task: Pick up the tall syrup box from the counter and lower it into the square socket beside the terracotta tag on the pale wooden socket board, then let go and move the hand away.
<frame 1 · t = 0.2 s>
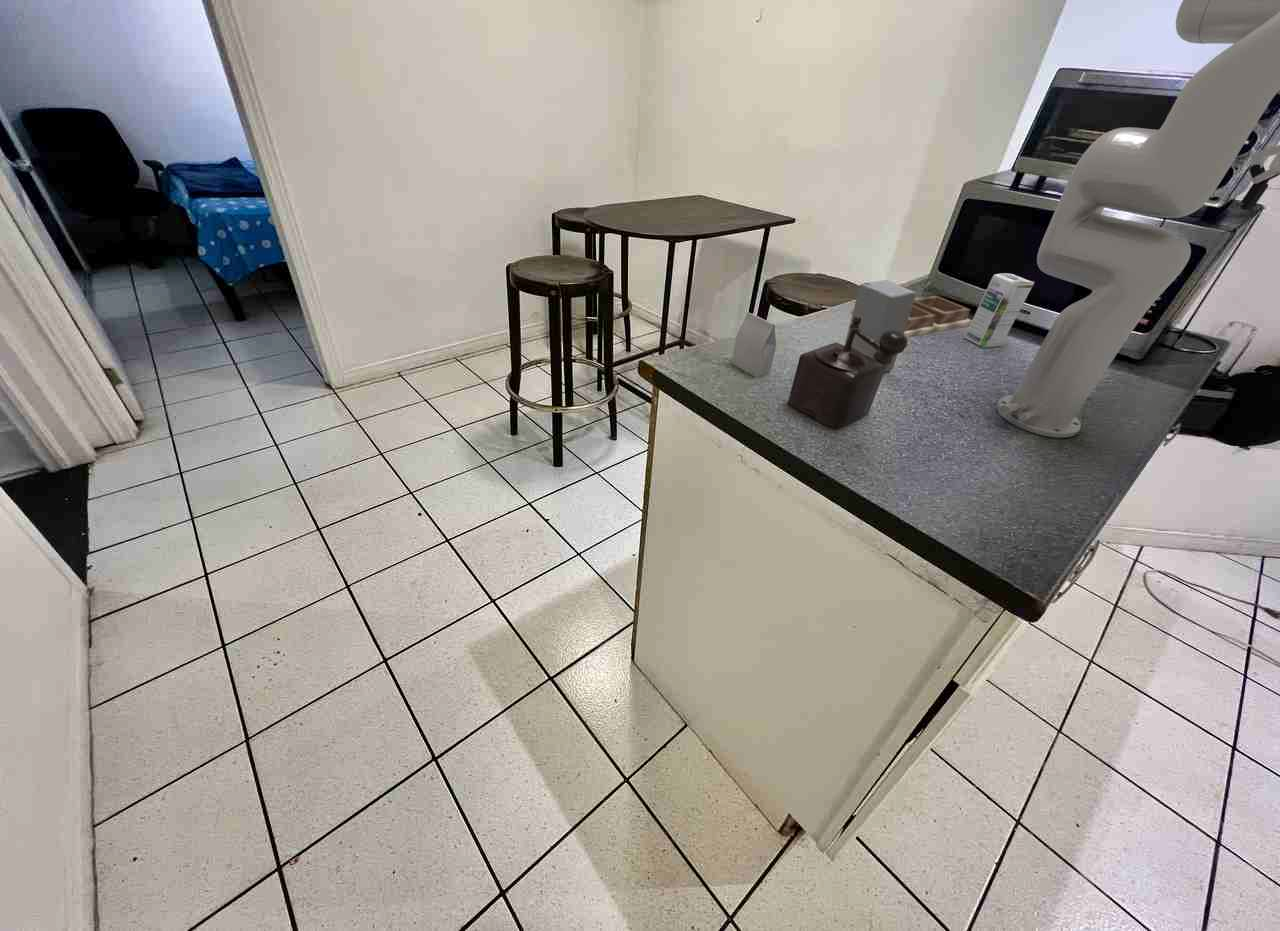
manual coffee grinder: (838, 416, 89), on the worktop
white paper bag: (750, 369, 101), on the worktop
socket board: (910, 318, 128), on the worktop
skincare box: (863, 365, 105), on the worktop
syrup box: (982, 342, 119), on the worktop
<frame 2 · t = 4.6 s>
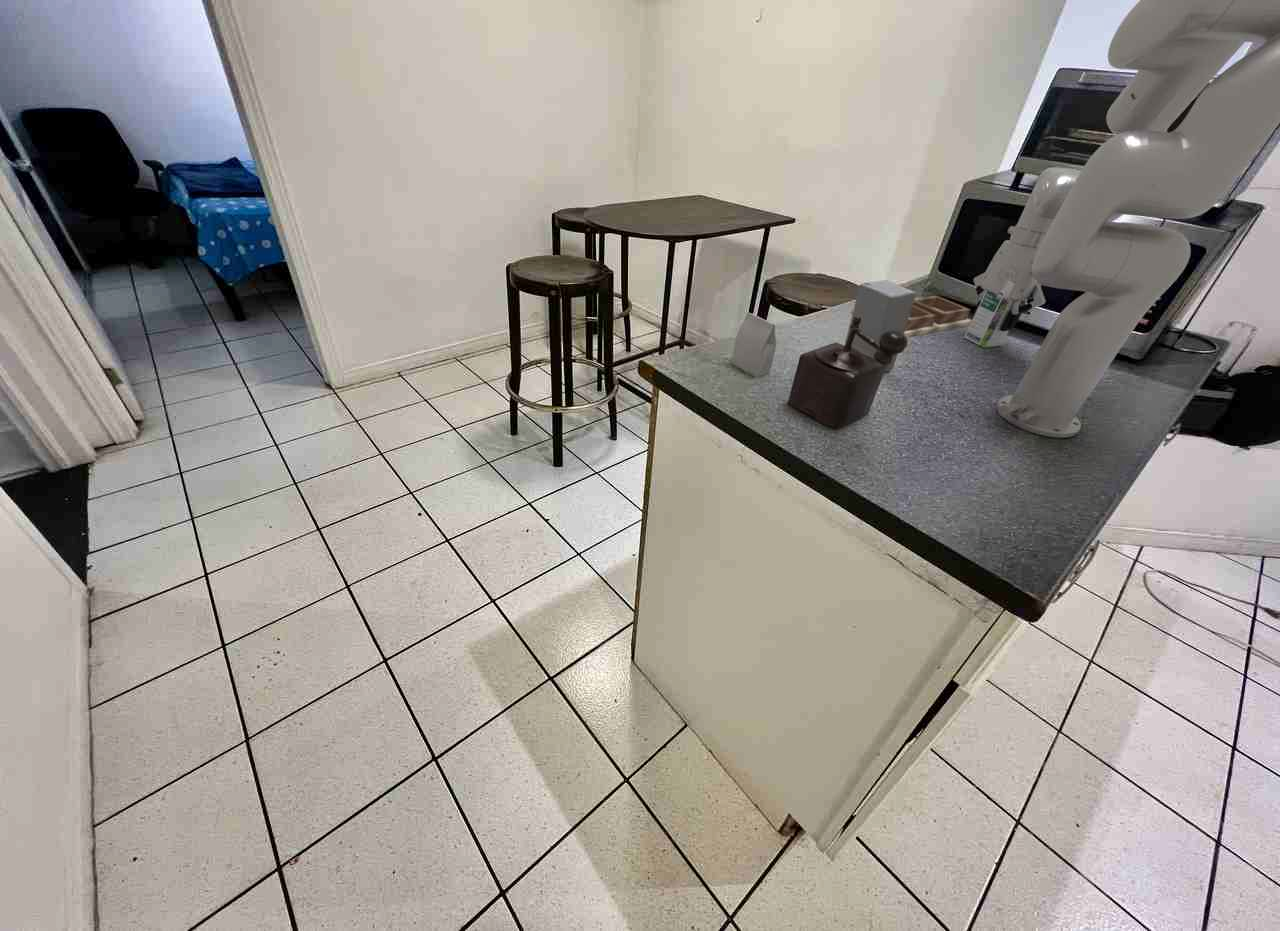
hand: (991, 323, 116), 4 cm above the worktop, tool pointing down, fingers closed on syrup box, 6 cm apart
syrup box: (981, 342, 119), on the worktop, touching gripper
everything else where it was.
when the fingers open (7 cm above the worktop, at t = 12.0 s): syrup box drops 1 cm, resting on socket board.
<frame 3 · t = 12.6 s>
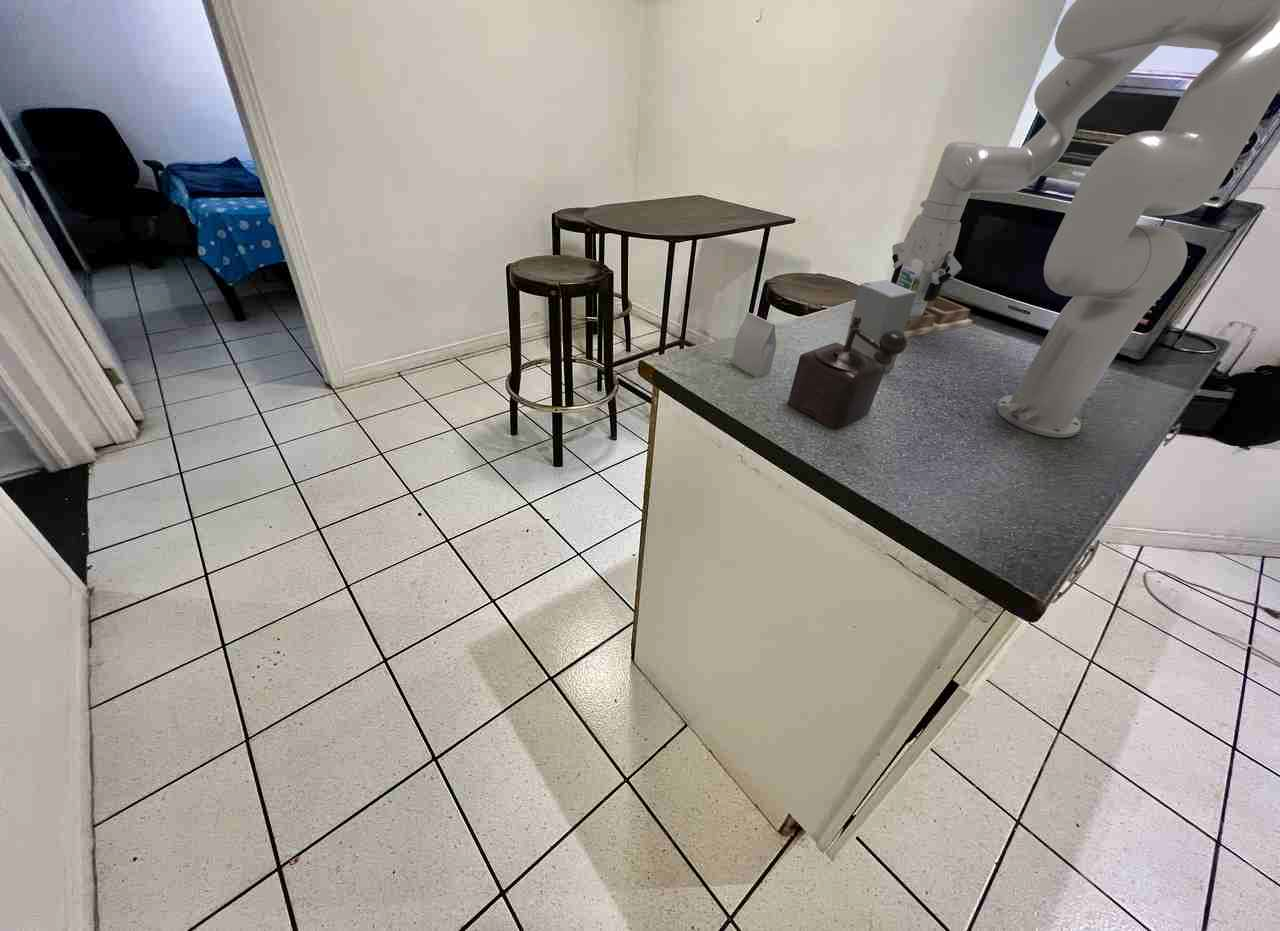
hand: (911, 293, 119), 8 cm above the worktop, tool pointing down, fingers open, 9 cm apart
syrup box: (901, 321, 123), point 1 cm above the worktop, touching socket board
everything else where it was.
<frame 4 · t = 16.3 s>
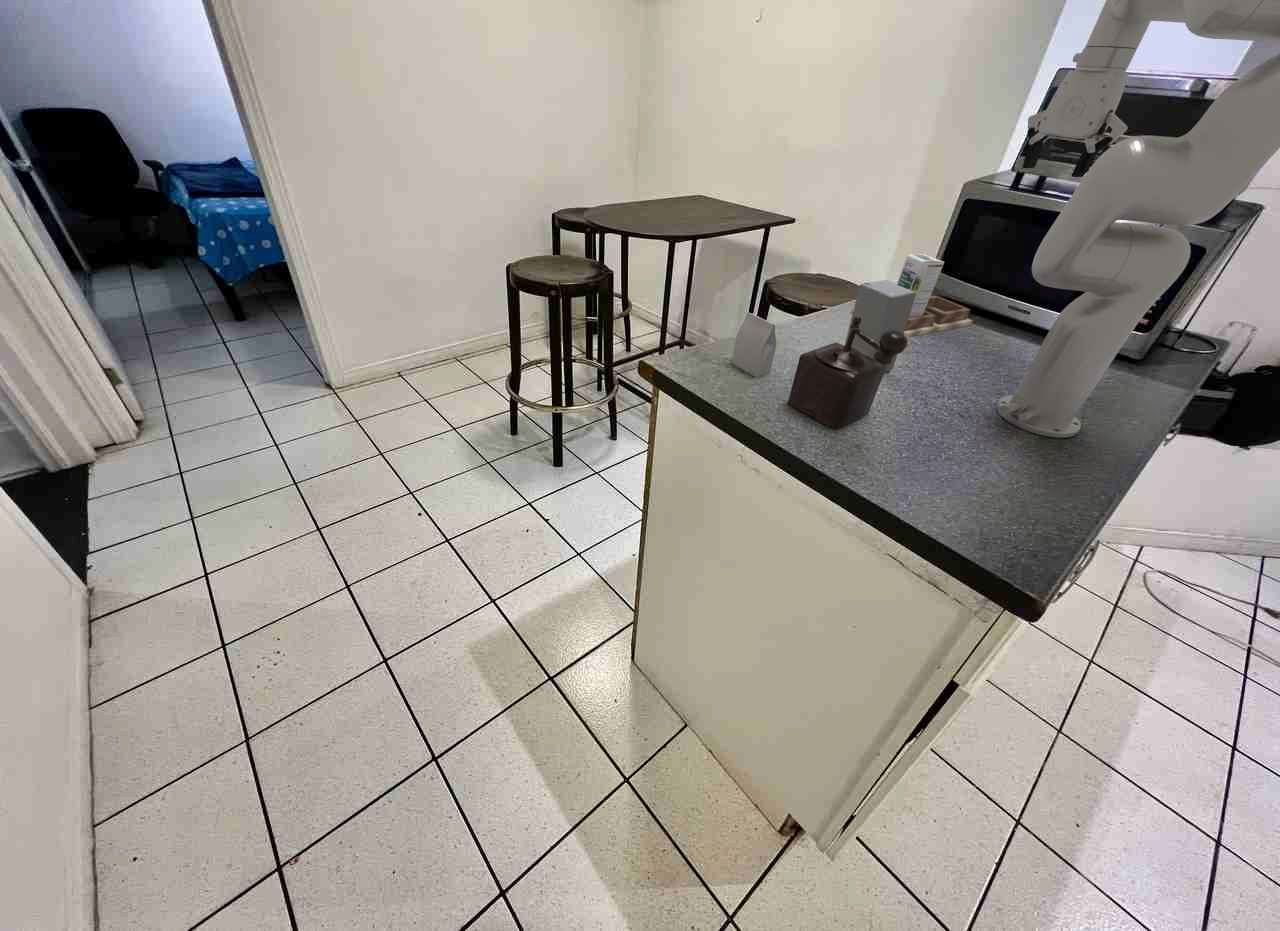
hand: (1051, 172, 102), 33 cm above the worktop, tool pointing down, fingers open, 9 cm apart
nothing on the worktop moved.
at the end: syrup box 0.2 cm from the target spot on the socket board, point 0.8 cm above the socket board's base; syrup box tilted 0°; the gripper is holding nothing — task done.
